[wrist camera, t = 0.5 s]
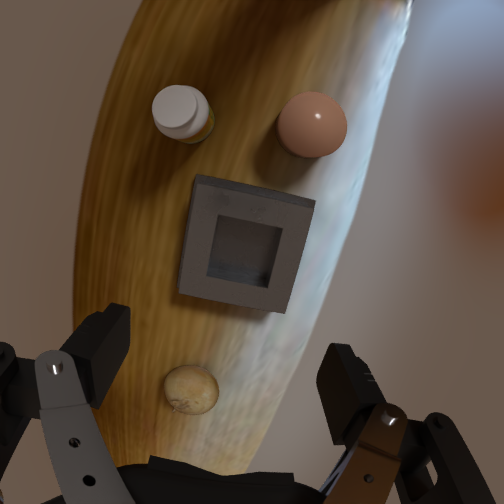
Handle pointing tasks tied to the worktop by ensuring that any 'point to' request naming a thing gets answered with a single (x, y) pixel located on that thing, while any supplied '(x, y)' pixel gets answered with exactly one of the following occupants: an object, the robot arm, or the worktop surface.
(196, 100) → the supplement bottle
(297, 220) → the collar socket
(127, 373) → the worktop surface
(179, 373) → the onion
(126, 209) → the worktop surface
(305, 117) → the brown egg
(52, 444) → the robot arm
